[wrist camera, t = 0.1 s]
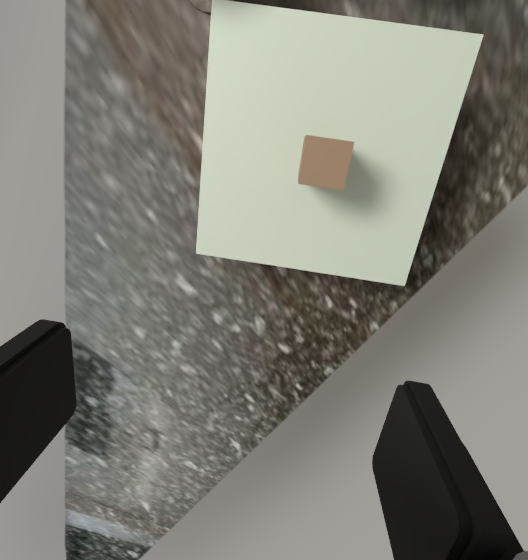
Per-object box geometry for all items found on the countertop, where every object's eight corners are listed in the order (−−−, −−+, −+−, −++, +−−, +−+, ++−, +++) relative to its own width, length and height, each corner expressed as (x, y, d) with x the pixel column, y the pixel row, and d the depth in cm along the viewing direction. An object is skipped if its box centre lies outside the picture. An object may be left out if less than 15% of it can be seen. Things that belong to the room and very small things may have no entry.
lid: (215, 4, 26) (187, -44, 19) (475, 39, 25) (540, 2, 18) (199, 249, 33) (174, 277, 26) (400, 281, 32) (428, 317, 25)
